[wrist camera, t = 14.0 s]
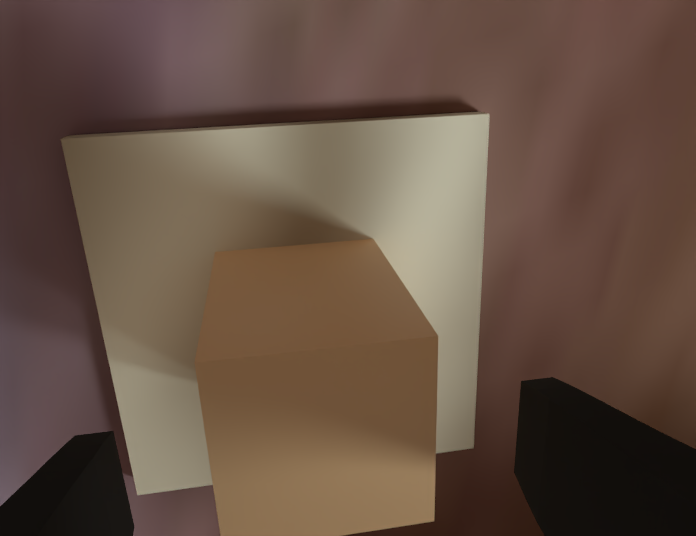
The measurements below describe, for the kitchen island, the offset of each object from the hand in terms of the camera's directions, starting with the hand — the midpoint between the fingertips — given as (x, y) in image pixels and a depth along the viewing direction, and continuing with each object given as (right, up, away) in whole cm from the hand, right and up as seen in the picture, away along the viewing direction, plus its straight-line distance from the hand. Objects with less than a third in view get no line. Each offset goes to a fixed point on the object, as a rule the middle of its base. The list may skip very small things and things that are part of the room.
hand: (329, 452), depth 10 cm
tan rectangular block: (-1, +2, +5) cm, 6 cm away
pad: (-1, +2, +6) cm, 6 cm away
